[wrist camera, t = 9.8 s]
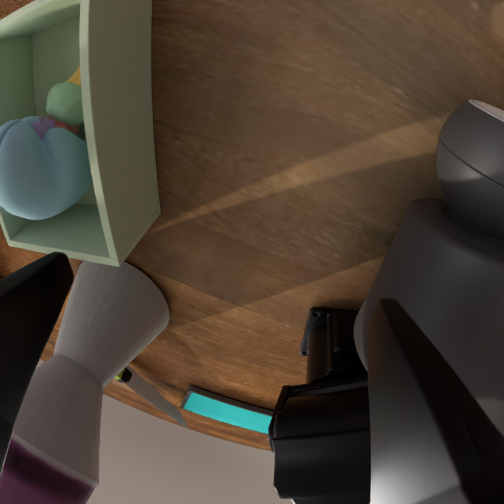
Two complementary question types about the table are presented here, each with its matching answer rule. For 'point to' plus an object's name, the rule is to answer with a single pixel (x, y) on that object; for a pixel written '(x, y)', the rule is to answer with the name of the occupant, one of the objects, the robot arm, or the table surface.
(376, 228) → the table surface
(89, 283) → the lamp
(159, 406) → the kitchen knife
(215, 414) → the smartphone
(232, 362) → the table surface
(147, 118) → the bin
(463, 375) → the binoculars
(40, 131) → the toy flower bud
